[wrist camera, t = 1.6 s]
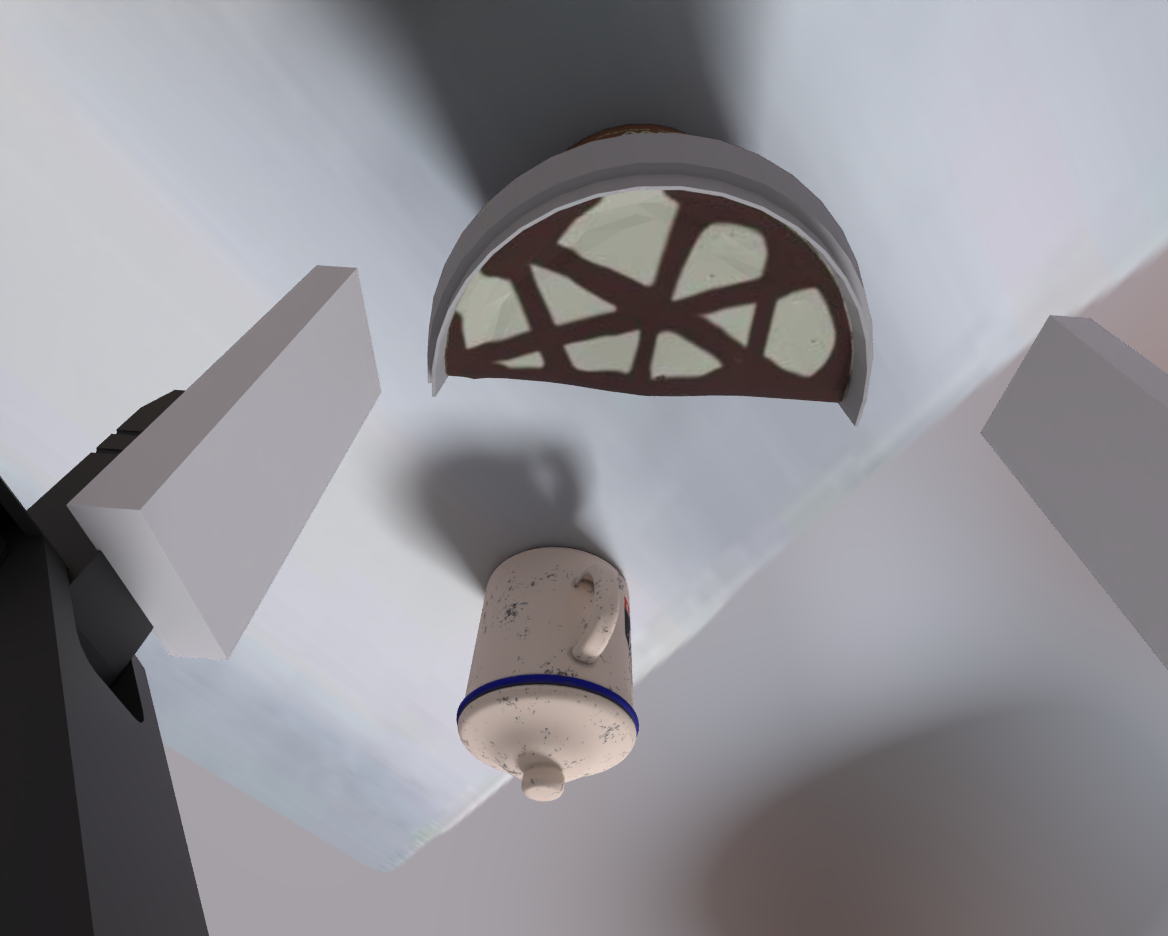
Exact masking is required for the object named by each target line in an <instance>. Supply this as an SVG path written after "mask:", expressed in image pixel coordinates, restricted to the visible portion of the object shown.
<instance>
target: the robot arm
mask: <svg viewBox="0 0 1168 936" xmlns="http://www.w3.org/2000/svg"><path fill="white" fill-rule="evenodd" d="M380 393H381V388H380V383H379V378H378V373H377V368H376V363H375V357H374V352H373V347H372V342H371V337H370V332H369V327H368V321H367V316H366V311H365V306H364V301H363V296H362V291H361V286H360V280H359V275H358V270H357V268H348V267H333V266H319V265H317V266H316V267H315V268H314V269H312V270H311V271H310V272H309V273H308V274H307V275H306V276H305V277H304V278H303V279H302V280H301V281H300V282H299V283H298V284H297V285H296V286H295V287H294V288H293V289H292V290H291V291H289V292H288V293H287V294H286V295H285V296H284V297H283V298H282V299H281V300H280V301H279V302H278V303H277V304H276V305H275V306H274V307H273V308H272V309H271V310H270V311H269V312H268V313H266V314H265V315H264V316H263V317H262V318H261V319H260V320H259V321H258V322H257V323H256V324H255V325H254V326H253V327H252V328H251V329H250V330H249V331H248V332H247V333H246V334H245V335H243V336H242V337H241V338H240V339H239V340H238V341H237V342H236V343H235V344H234V345H233V346H232V347H231V348H230V349H229V350H228V351H227V352H226V353H225V354H224V355H223V356H222V357H220V358H219V359H218V360H217V361H216V362H215V363H214V364H213V365H212V366H211V367H210V368H209V369H208V370H207V371H206V372H205V373H204V374H203V375H202V376H201V377H200V378H198V379H197V380H196V381H195V382H194V383H193V384H192V385H191V386H190V387H189V388H188V389H187V390H186V391H183V390H174V391H172V392H170V393H168V394H166V395H164V396H162V397H160V398H158V399H157V400H155V401H153V402H151V403H149V404H147V405H145V406H143V407H141V408H140V409H139V410H138V411H137V412H135V413H134V414H133V415H132V416H131V417H130V418H129V419H128V420H127V421H125V422H124V423H123V424H122V425H121V426H120V427H119V428H118V429H117V434H111V435H110V436H109V437H108V438H107V439H106V440H104V441H103V442H102V443H101V444H100V445H99V446H98V447H97V448H96V449H97V452H96V453H90V454H89V455H88V456H87V457H86V458H84V459H83V460H82V461H81V462H80V463H79V464H78V465H77V466H76V467H74V468H73V469H72V470H71V471H70V472H69V473H68V474H67V475H66V476H64V477H63V478H62V479H61V480H60V481H59V482H58V483H57V484H56V485H55V486H53V487H52V488H51V489H50V490H49V491H48V492H47V493H46V494H45V495H43V496H42V497H41V498H40V499H39V500H38V501H37V502H36V503H35V504H33V505H32V506H31V507H30V508H29V509H28V510H27V511H26V510H25V508H24V507H23V506H22V504H21V503H20V502H19V500H18V499H17V498H16V496H15V495H14V494H13V492H12V491H11V490H10V488H9V487H8V486H7V484H6V483H5V482H4V480H3V479H2V478H1V476H0V936H209V934H208V930H207V926H206V922H205V918H204V913H203V909H202V905H201V901H200V897H199V893H198V889H197V884H196V880H195V876H194V872H193V868H192V864H191V859H190V855H189V852H188V847H187V843H186V839H185V835H184V831H183V826H182V822H181V818H180V814H179V810H178V806H177V801H176V797H175V793H174V789H173V785H172V781H171V776H170V772H169V768H168V764H167V760H166V756H165V751H164V747H163V743H162V739H161V735H160V731H159V727H158V722H157V718H156V714H155V710H154V706H153V702H152V698H151V693H150V689H149V685H148V681H147V677H146V673H145V669H144V667H143V666H142V664H141V663H140V661H139V660H138V658H137V657H136V655H135V653H136V652H137V650H138V649H139V647H140V646H141V645H142V643H143V642H144V640H145V639H146V638H147V636H148V635H149V634H150V632H151V631H152V630H153V632H154V633H155V635H156V636H157V637H158V639H159V640H160V642H161V643H162V645H163V646H164V648H165V649H166V650H167V652H168V653H169V655H170V656H177V657H191V658H205V659H220V660H228V659H229V657H230V655H231V653H232V652H233V650H234V648H235V646H236V645H237V643H238V641H239V639H240V638H241V636H242V634H243V632H244V631H245V629H246V627H247V625H248V624H249V622H250V620H251V618H252V617H253V615H254V613H255V611H256V610H257V608H258V606H259V604H260V603H261V601H262V599H263V598H264V596H265V594H266V592H267V591H268V589H269V587H270V585H271V584H272V582H273V580H274V578H275V577H276V575H277V573H278V571H279V570H280V568H281V566H282V564H283V563H284V561H285V559H286V557H287V556H288V554H289V552H290V550H291V549H292V547H293V545H294V543H295V542H296V540H297V538H298V536H299V535H300V533H301V531H302V529H303V528H304V526H305V524H306V522H307V521H308V519H309V517H310V515H311V514H312V512H313V510H314V508H315V507H316V505H317V503H318V501H319V500H320V498H321V496H322V494H323V493H324V491H325V489H326V487H327V486H328V484H329V482H330V480H331V479H332V477H333V475H334V473H335V472H336V470H337V468H338V467H339V465H340V463H341V461H342V460H343V458H344V456H345V454H346V453H347V451H348V449H349V447H350V446H351V444H352V442H353V440H354V439H355V437H356V435H357V433H358V432H359V430H360V428H361V426H362V425H363V423H364V421H365V419H366V418H367V416H368V414H369V412H370V411H371V409H372V407H373V405H374V404H375V402H376V400H377V398H378V397H379V395H380ZM981 434H982V436H983V437H984V438H985V439H986V441H987V442H988V443H989V445H990V446H991V447H992V448H993V450H994V451H995V452H996V453H997V455H998V456H999V457H1000V458H1001V460H1002V461H1003V462H1004V464H1005V465H1006V466H1007V467H1008V469H1009V470H1010V471H1011V472H1012V474H1013V475H1014V476H1015V477H1016V479H1017V480H1018V481H1019V483H1020V484H1021V485H1022V486H1023V488H1024V489H1025V490H1026V491H1027V492H1028V494H1029V495H1030V496H1031V498H1032V499H1033V500H1034V501H1035V503H1036V504H1037V505H1038V507H1039V508H1040V509H1041V510H1042V512H1043V513H1044V514H1045V515H1046V516H1047V518H1048V519H1049V520H1050V522H1051V523H1052V524H1053V525H1054V527H1055V528H1056V529H1057V531H1058V532H1059V533H1060V534H1061V536H1062V537H1063V538H1064V539H1065V541H1066V542H1067V543H1068V544H1069V545H1070V547H1071V548H1072V550H1073V551H1074V552H1075V553H1076V554H1077V556H1078V557H1079V558H1080V560H1081V561H1082V562H1083V563H1084V565H1085V566H1086V567H1087V568H1088V570H1089V571H1090V572H1091V574H1092V575H1093V576H1094V577H1095V579H1096V580H1097V581H1098V582H1099V584H1100V585H1101V586H1102V587H1103V589H1104V590H1105V591H1106V593H1107V594H1108V595H1109V596H1110V598H1111V599H1112V600H1113V601H1114V603H1115V604H1116V605H1117V606H1118V608H1119V609H1120V610H1121V611H1122V613H1123V614H1124V615H1125V616H1126V618H1127V619H1128V620H1129V622H1130V623H1131V624H1132V625H1133V627H1134V628H1135V629H1136V630H1137V632H1138V633H1139V634H1140V635H1141V636H1142V638H1143V639H1144V641H1145V642H1146V643H1147V644H1148V645H1149V647H1150V648H1151V649H1152V651H1153V652H1154V653H1155V654H1156V656H1157V657H1158V658H1159V660H1160V661H1161V662H1162V663H1163V665H1164V666H1165V667H1166V668H1167V670H1168V374H1167V373H1165V372H1164V371H1162V370H1161V369H1160V368H1158V367H1157V366H1156V365H1154V364H1153V363H1152V362H1150V361H1149V360H1147V359H1146V358H1145V357H1143V356H1142V355H1140V354H1139V353H1138V352H1136V351H1135V350H1134V349H1132V348H1131V347H1129V346H1128V345H1127V344H1125V343H1124V342H1122V341H1121V340H1120V339H1118V338H1117V337H1116V336H1114V335H1113V334H1111V333H1110V332H1109V331H1107V330H1106V329H1105V328H1103V327H1102V326H1101V325H1099V324H1098V323H1096V322H1095V321H1094V320H1092V319H1091V318H1082V317H1068V316H1053V315H1050V316H1049V317H1048V319H1047V321H1046V322H1045V324H1044V326H1043V328H1042V329H1041V331H1040V333H1039V334H1038V336H1037V338H1036V339H1035V341H1034V343H1033V345H1032V346H1031V348H1030V350H1029V351H1028V353H1027V355H1026V356H1025V358H1024V360H1023V361H1022V363H1021V365H1020V367H1019V368H1018V370H1017V372H1016V373H1015V375H1014V377H1013V378H1012V380H1011V382H1010V384H1009V385H1008V387H1007V389H1006V390H1005V392H1004V394H1003V395H1002V397H1001V399H1000V400H999V402H998V404H997V406H996V407H995V409H994V411H993V412H992V414H991V416H990V417H989V419H988V421H987V422H986V424H985V426H984V428H983V429H982V431H981Z"/></svg>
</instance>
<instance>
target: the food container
mask: <svg viewBox="0 0 1168 936" xmlns="http://www.w3.org/2000/svg"><path fill="white" fill-rule="evenodd" d="M872 361H873V331H872V320H871V316H870V312H869V308H868V303H867V299H866V295H865V291H864V287H863V283H862V279H861V275H860V271H859V267H858V263H857V261H856V258H855V256H854V254H853V252H852V250H851V248H850V245H849V243H848V241H847V239H846V237H845V235H844V232H843V230H842V229H841V227H840V226H839V225H838V223H837V222H836V221H835V219H834V218H833V217H832V215H831V214H830V212H829V211H828V210H827V208H826V207H825V206H824V204H823V203H822V202H821V200H820V199H818V198H817V197H816V196H815V195H814V194H813V193H812V192H811V191H810V190H809V189H808V188H806V187H805V186H804V185H803V184H802V183H801V182H800V181H799V180H798V179H797V178H795V177H794V176H793V175H792V174H790V173H789V172H787V171H785V170H784V169H782V168H780V167H779V166H777V165H775V164H774V163H772V162H770V161H769V160H767V159H765V158H764V157H762V156H760V155H759V154H756V153H754V152H751V151H748V150H745V149H743V148H740V147H737V146H735V145H732V144H729V143H726V142H724V141H721V140H717V139H711V138H705V137H699V136H693V135H688V134H686V133H683V132H681V131H679V130H676V129H674V128H671V127H666V126H660V125H654V124H627V125H622V126H617V127H612V128H607V129H605V130H602V131H600V132H597V133H595V134H592V135H590V136H587V137H586V138H584V139H582V140H581V141H579V142H578V143H576V144H574V145H573V146H571V147H569V148H568V149H567V150H566V151H565V152H563V153H560V154H557V155H555V156H552V157H550V158H549V159H547V160H545V161H544V162H542V163H540V164H539V165H537V166H535V167H534V168H532V169H530V170H528V171H527V172H525V173H523V174H522V175H520V176H518V177H517V178H515V179H514V180H513V181H512V182H511V183H510V184H508V185H507V186H506V187H505V188H504V189H503V190H501V191H500V192H499V193H498V194H497V195H496V196H494V197H493V198H492V199H491V200H490V201H489V202H488V203H486V204H485V206H484V207H483V208H482V209H481V210H480V212H479V213H478V214H477V215H476V217H475V218H474V219H473V220H472V222H471V223H470V224H469V225H468V226H467V228H466V229H465V230H464V231H463V233H462V234H461V236H460V238H459V240H458V241H457V243H456V245H455V247H454V249H453V250H452V252H451V254H450V256H449V258H448V259H447V261H446V263H445V265H444V268H443V271H442V274H441V277H440V280H439V283H438V286H437V289H436V292H435V295H434V298H433V305H432V312H431V318H430V325H429V337H428V383H432V396H433V397H436V395H437V393H438V392H439V390H440V388H441V387H442V385H443V384H444V382H445V380H446V379H447V377H448V376H460V377H467V378H473V379H479V378H508V379H520V380H532V381H544V382H553V383H561V384H568V385H575V386H581V387H587V388H593V389H600V390H606V391H612V392H620V393H628V394H635V395H643V396H708V395H725V396H753V397H767V398H782V399H797V400H810V401H822V402H835V403H838V404H839V405H840V406H841V408H842V409H843V411H844V412H845V413H846V415H847V416H848V417H849V419H850V420H851V422H852V423H853V424H854V426H858V424H859V421H860V418H861V415H862V412H863V409H864V406H865V403H866V400H867V393H868V386H869V380H870V374H871V367H872Z"/></svg>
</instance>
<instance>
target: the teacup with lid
mask: <svg viewBox="0 0 1168 936" xmlns="http://www.w3.org/2000/svg"><path fill="white" fill-rule="evenodd" d="M456 720H457V725H458V733H459V735H460V738H461V741H462V743H463V744H464V746H465V747H466V748H467V750H468V751H469V752H470V753H471V754H472V755H473V756H475V757H476V758H477V759H479V760H480V761H482V762H483V763H485V764H487V765H489V766H491V767H493V768H496V769H498V770H501V771H504V772H507V773H510V774H511V775H513V776H515V777H517V778H519V779H521V780H522V790H523V792H524V794H525V795H526V796H527V797H529V798H531V799H533V800H537V801H551V800H555V799H557V798H559V797H560V796H561V794H562V793H563V791H564V787H565V782H568V781H572V780H574V779H577V778H579V777H585V776H589V775H593V774H597V773H600V772H602V771H605V770H607V769H610V768H611V767H613V766H615V765H617V764H618V763H620V762H621V761H622V760H623V759H624V758H625V757H626V756H627V755H628V754H629V752H630V751H631V749H632V748H633V746H634V744H635V741H636V737H637V734H638V731H639V723H638V718H637V715H636V713H635V711H634V709H633V686H632V658H631V631H630V603H629V591H628V587H627V585H626V582H625V581H624V579H623V577H622V576H621V575H620V573H619V572H618V571H617V570H616V569H615V568H614V567H613V566H611V565H610V564H609V563H607V562H606V561H604V560H603V559H601V558H599V557H597V556H595V555H593V554H590V553H587V552H584V551H581V550H576V549H572V548H564V547H544V548H536V549H531V550H527V551H524V552H521V553H519V554H516V555H514V556H512V557H510V558H509V559H507V560H505V561H504V562H503V563H501V564H500V565H499V566H498V567H497V568H496V569H495V571H494V572H493V573H492V575H491V577H490V579H489V581H488V584H487V588H486V593H485V598H484V604H483V609H482V614H481V619H480V624H479V629H478V634H477V639H476V644H475V650H474V655H473V660H472V665H471V670H470V675H469V680H468V685H467V690H466V696H465V698H464V700H463V701H462V702H461V704H460V706H459V708H458V711H457V719H456Z"/></svg>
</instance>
